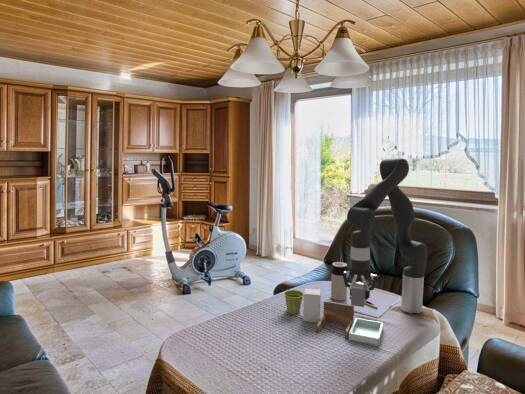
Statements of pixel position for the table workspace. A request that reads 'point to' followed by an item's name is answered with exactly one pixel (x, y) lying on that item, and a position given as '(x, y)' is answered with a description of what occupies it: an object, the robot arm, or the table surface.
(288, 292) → the plant pot
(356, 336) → the tray
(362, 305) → the grey rectangular block
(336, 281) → the travel mug
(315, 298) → the supplement box
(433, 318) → the table surface
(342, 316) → the dock
